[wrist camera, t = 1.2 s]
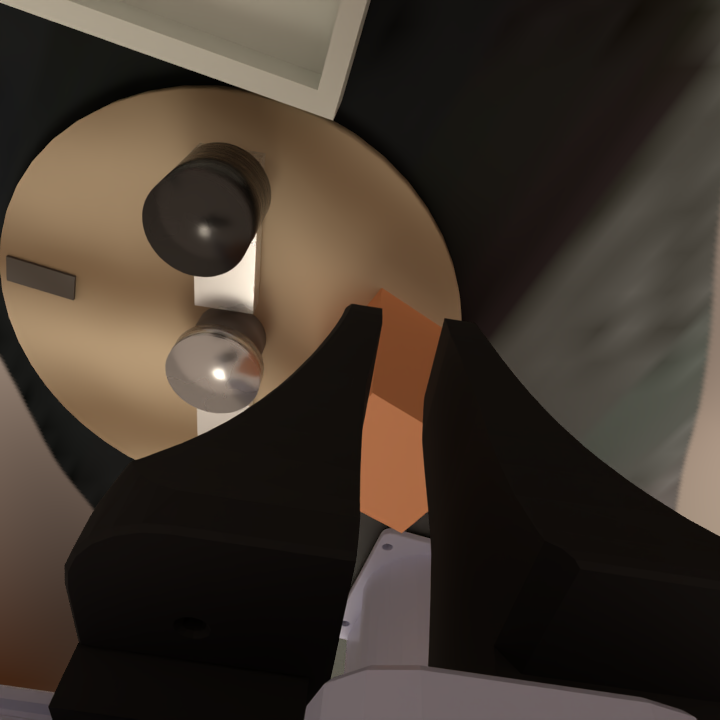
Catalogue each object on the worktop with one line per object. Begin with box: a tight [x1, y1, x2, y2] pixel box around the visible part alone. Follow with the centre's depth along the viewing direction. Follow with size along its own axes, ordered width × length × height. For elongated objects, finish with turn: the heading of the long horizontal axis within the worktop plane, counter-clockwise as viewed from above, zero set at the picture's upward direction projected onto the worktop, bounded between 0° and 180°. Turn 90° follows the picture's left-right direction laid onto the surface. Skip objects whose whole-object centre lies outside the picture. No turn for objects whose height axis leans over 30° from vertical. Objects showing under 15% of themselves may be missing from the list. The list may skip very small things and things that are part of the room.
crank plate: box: [0, 85, 461, 460], centre depth 22 cm, size 17×17×2 cm
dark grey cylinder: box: [142, 142, 271, 436], centre depth 21 cm, size 14×3×4 cm, turn 172°
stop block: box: [360, 288, 442, 533], centre depth 20 cm, size 4×4×6 cm
